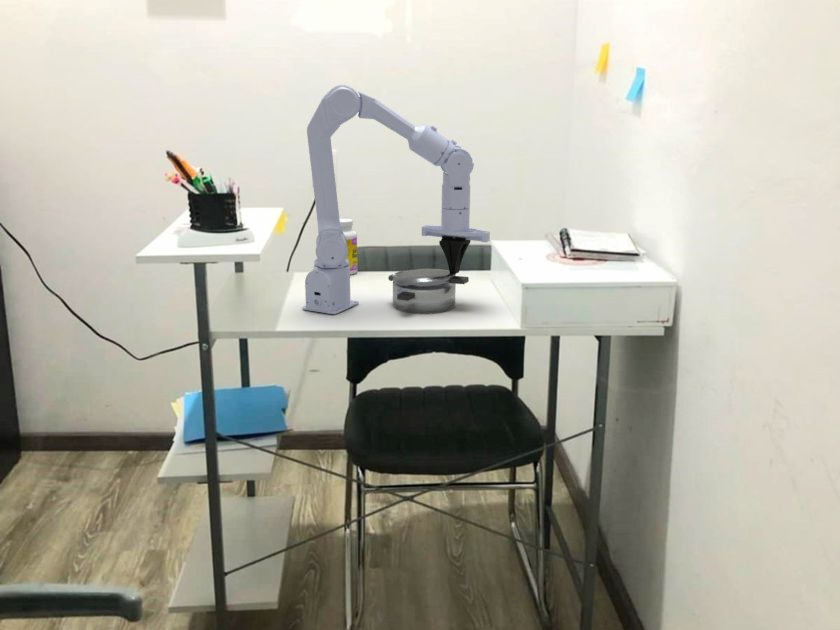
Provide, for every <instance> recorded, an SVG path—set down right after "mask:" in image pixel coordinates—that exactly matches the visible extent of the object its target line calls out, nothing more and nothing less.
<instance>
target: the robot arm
mask: <svg viewBox="0 0 840 630" xmlns="http://www.w3.org/2000/svg"><path fill="white" fill-rule="evenodd" d="M357 114H358V115H357ZM356 115H357V116H358V117H359V119H366V120H375V121H377V123H380V124H381V125H382V126H384V127H386V128H388V129H389V130H391V131H392V132H395V133H396V134H397V135H399V136H400V137H403V139H406V140H407V143H408V148H409V150H410V151H412V152H413V153H415V154H416V155H418V156H419V157H421V158H422V159H424V160H426V161H428V162H429V163H431V165H434V166H435V167H440V169H441V171H442V183H441V184H442V185H441V225H427V224H426V225H423V226H421V236H423V237H427V236H428V237H438V238H441V240H439V246H440V248H441V249H442V250H441V251H443V254H444V256H445V258H446V263H447V266H448V270H449V272H450V274H458V273H460V270H461V269H460V268H461V264H462V261H463V258H464V256H465V253H466V251H467V249H468V247H469V245H470V244H471V241H475V242H481V243H488V242H490V234H491V232H490V231H487V230H480V229H475V228H470V215H471V214H470V211H471V210H470V209H471V183H470V182H471V173H472V172H473V169H474V167H475V166H474V165H475V163H473V158H472V156H471V154H470V153H469V152H468V151H467V150H465V149H463V148H462V147H461V146H459V145H457V141H456V140H454V139H451V140H450V139H448V138H447V137H445V136H443V135H442V134H441V133H439V132H438V128H437V127H435V126H434V125H431V124H430V126H429V125H427V124H421V125H414V124H413V123H412V122H410V121H408V120H407V119H405V117H402V116H401V115H400V114H399V113H397V112H396V111H394V110H392V109H391V108H390V107H389V106H387V105H385V104H384V103H382V102H381V101H379V100H378V99H376V98H375V97H372V96H370V95H368V94H366V93H363V92H360V91H356V90H355V89H354V88H352V87H351V86H349V85H346V84H340V85H339V84H338V85H336V86H333V88H331V89H330V90H329V91H328V92H327V93H326V94H325V95H324V96H323V97H322V98H321V101H320V102H319V104H318V106H317V108H316V110H315V112H314V113H313V115H312V117H311V119H310V121H309V123H308V125H307V127H306V135H307V143H308V144H307V145H308V152H309V159H310V160H309V161H310V169H311V170H310V171H311V176H312V177H311V179H312V185H313V193H314V203H315V212H316V219H317V220H316V222H317V233H318V234H317V237H316V247H315V256H316V259H314V261H313V267H312V268H313V269H312V270H311V271H310V272H308V274H307V275H306V277H305V281H304V283H305V285H304V287H305V288H304V289H305V290H304V291H305V305H304V306H302V310H303V311H311V312H318V313H323V314H328V315H337V314H339V313H341V312H344V311H345V310H348V309H350V308H352V307H354V306H357V305H359V304H360V302H359V301H358V300H351V275H350V261H349V260H347V259H346V257H347V254H348V248H347V240H346V237H345V235H344V233H343V232H342V230H341V227H340V219H341V218H340V212H339V202H338V195H337V192H338V191H337V185H336V183H337V182H336V174H335V167H334V166H335V165H334V156H333V148H332V139H331V138H332V136H333V135H334V134H335V133H336V131H338V130H339V128H340V127H341V125H343V124H344V123H346V122H349V121H350V120H351V119H353V118H354V117H356Z"/></svg>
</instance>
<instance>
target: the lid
mask: <svg viewBox="0 0 840 630" xmlns="http://www.w3.org/2000/svg"><path fill="white" fill-rule="evenodd" d="M456 274H457V273H456ZM456 274H450V272H449V269H443V268H417V269H409V270H408V269H407V270H400V271H397V272H394V273H393V274H392V273H391V274H390V275H389V276H388V277H387V278H388V281H389V282H392V284H393V283H394V284H396V285H400V286H406V287H432V286H440V285H445V284H449V283H454V284H456V285H465V284H467V283H468V282H469V276H461V275H459V276H458V275H456Z"/></svg>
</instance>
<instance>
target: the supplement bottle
mask: <svg viewBox="0 0 840 630" xmlns="http://www.w3.org/2000/svg"><path fill="white" fill-rule="evenodd" d="M339 219H340V227H341V230H342V232H343V233H344V235H345V237H346V240H347V248H348V254H347V257H346V259H347V260H349V261H350V276H352V275H354V274H356V273H357V272H358V234H357V232H356V231H355V230H353V225H354V224H353V223H354V221H353V219H351V218H339Z"/></svg>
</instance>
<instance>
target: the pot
mask: <svg viewBox="0 0 840 630" xmlns="http://www.w3.org/2000/svg"><path fill="white" fill-rule="evenodd" d="M456 285H457V284H454V283H449V284H445V285H440V286H432V287H406V286H400V285H396V284H394V283H393V282H392V307H393V309H396V310H397V311H401V312H404V313H409V312H410V313H411V314H418V313H420V315H421V314H422V315H423V314H425V315H428V314H430V313H432V314H440V313H445V312H448V311H449V312H450V311H451V310H453V309H454V308H456ZM410 313H409V314H410Z"/></svg>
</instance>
